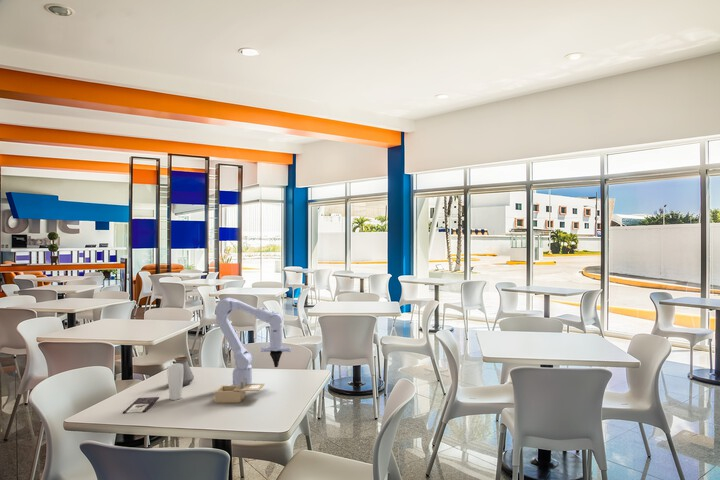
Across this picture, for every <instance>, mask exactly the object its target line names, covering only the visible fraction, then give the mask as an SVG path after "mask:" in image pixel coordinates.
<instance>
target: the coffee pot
mask: <svg viewBox="0 0 720 480" xmlns="http://www.w3.org/2000/svg"><path fill="white" fill-rule="evenodd" d="M188 360H189V357H188V356H177V357H174V360H173V361H172V362H170V363H169V365H170V364H175V363H181V364H183V368H184V374H183V387H185V386H188V385H190V384H191V383H192V382H193V381H194V378H195V377H194V376H195V375H194V373H193V371H192V369H191V367H190V365H189V363H188Z"/></svg>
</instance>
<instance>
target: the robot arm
mask: <svg viewBox="0 0 720 480" xmlns="http://www.w3.org/2000/svg"><path fill="white" fill-rule="evenodd" d="M215 310H216V316H215V320H216V323H217V324H218V326H219V328H220V330H221V332H222V334H223V335H224V337H225V339H226V341H227V343H228V345H229V346H230V349H231V350H232V352H233V359H234V361H235V368H234V369H233V370H232V384H231V385H230V386H238V385H239V384H241V381H242V380H243V379H244V378H247V384H253V365H252V362H253V359H254V358H253V354H252V353H250V352H249V351H248V349H247V348H246V347H244V345H243V343H242V342H241V340H240V338H239V336H238V335H237V333H236V331H235V329H234V327H233V325H232V323H231V321H230V320H229V317H230V314H231V312H232V311H237V310H240V311H242V312H246V313H248V314H251V315H253V316H254V318H255V319H257V320H260V321H262V322H264V323H267V324H268V325H269V326H270V328H269V343H270V344H269V346H263V347H261V348H260V352H261V353H268V352H269V356H270V357H271V359H272V362H273V366H274V368H278V367H279V363H280V359H281V357H282V354H283V353H284V352H286V353H287V352H288V353H291V352H292V346H289V347H288V346H283V328H282V327H283V326H282V323H283V316H282V314H281V313H279V312H275V311H274V310H273V311H271V310H270V309H269V310H268V309H266V307H265V306H263V307H258V308H257V307H255V306H252V305H250V304H248V303H245V302H243V301H241V300H239V299H237V298H233V297H231V296H230V297H229V296H228V297H225V298H223V299H221V300H219V301H218V303H217V305H216V307H215Z"/></svg>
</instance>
